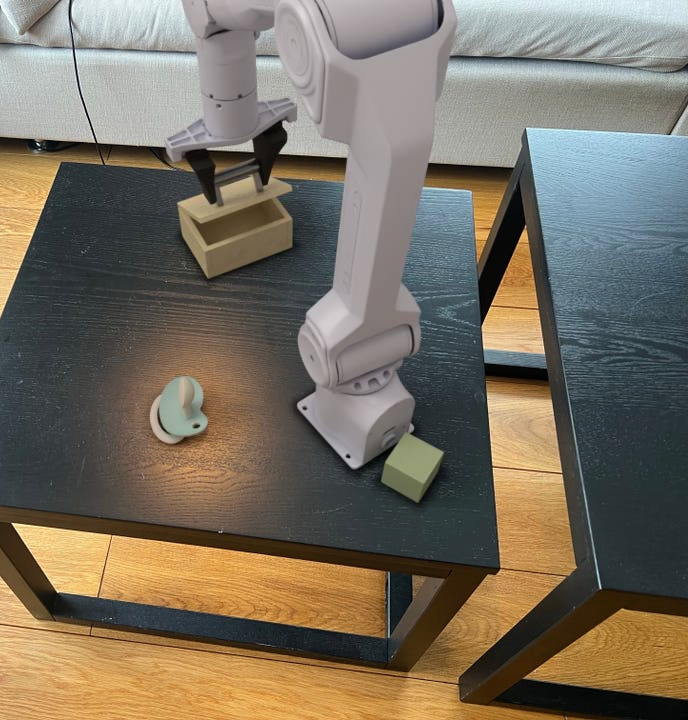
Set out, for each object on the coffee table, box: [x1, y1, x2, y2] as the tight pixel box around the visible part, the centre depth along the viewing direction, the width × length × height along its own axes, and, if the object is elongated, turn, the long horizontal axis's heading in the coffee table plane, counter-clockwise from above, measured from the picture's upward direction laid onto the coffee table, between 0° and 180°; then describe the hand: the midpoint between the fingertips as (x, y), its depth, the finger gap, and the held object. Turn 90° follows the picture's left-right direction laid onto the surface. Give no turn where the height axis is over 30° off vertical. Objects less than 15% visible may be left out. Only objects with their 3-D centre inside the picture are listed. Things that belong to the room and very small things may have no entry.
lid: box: [176, 157, 293, 224], centre depth 88 cm, size 9×11×4 cm
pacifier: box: [149, 375, 208, 445], centre depth 77 cm, size 7×6×6 cm
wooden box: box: [177, 196, 294, 279], centre depth 93 cm, size 8×11×5 cm
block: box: [380, 432, 445, 504], centre depth 72 cm, size 4×4×4 cm
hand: (236, 189), depth 86 cm, fingers closed on lid, 6 cm apart
